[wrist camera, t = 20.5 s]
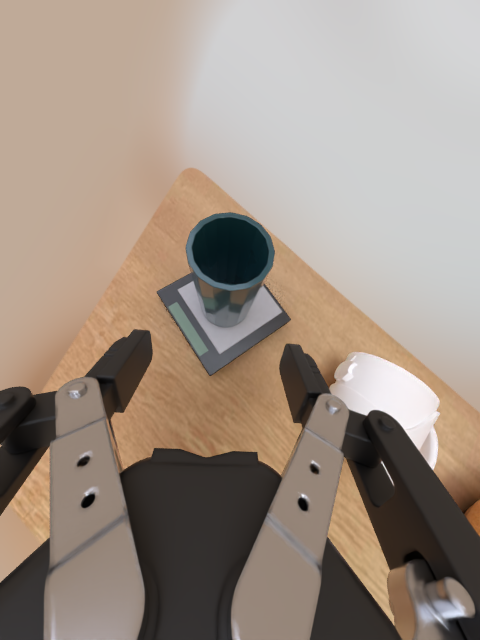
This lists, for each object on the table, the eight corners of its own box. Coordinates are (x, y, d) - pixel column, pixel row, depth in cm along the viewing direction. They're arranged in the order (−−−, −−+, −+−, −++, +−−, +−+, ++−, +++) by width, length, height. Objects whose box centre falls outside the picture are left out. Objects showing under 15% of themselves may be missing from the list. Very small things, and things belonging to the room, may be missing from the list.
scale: (210, 375, 24) (209, 376, 21) (160, 297, 25) (154, 289, 23) (286, 323, 26) (293, 318, 24) (236, 255, 28) (238, 244, 26)
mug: (294, 414, 24) (331, 436, 16) (333, 354, 26) (381, 347, 18) (376, 484, 23) (458, 542, 15) (409, 414, 25) (493, 433, 17)
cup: (218, 337, 22) (218, 307, 12) (191, 297, 23) (169, 235, 13) (258, 311, 24) (291, 262, 13) (231, 274, 25) (242, 200, 14)
